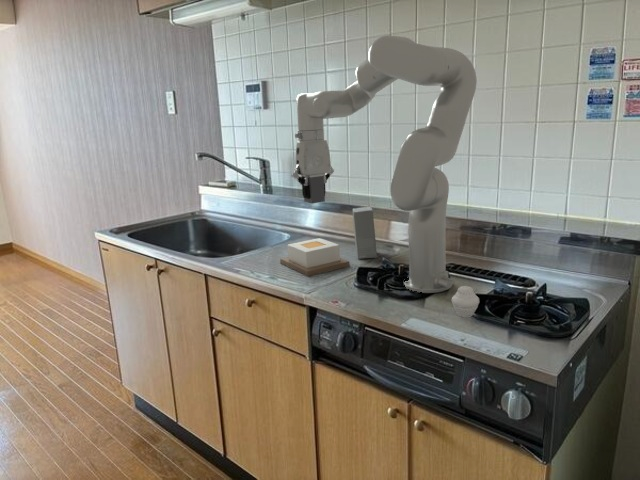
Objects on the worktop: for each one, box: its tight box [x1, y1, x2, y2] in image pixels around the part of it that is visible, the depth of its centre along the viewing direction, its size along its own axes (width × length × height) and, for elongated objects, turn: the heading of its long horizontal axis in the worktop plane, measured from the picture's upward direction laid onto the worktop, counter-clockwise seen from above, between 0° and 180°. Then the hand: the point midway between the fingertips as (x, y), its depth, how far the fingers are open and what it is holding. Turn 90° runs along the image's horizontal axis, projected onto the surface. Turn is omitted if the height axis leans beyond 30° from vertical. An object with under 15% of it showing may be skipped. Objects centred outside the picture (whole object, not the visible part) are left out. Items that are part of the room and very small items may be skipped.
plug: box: [303, 174, 326, 204], centre depth 155 cm, size 5×5×9 cm
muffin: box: [451, 285, 480, 318], centre depth 116 cm, size 6×6×7 cm
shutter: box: [302, 242, 324, 248], centre depth 161 cm, size 6×6×1 cm
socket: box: [279, 237, 351, 277], centre depth 161 cm, size 18×15×6 cm
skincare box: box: [352, 206, 378, 260], centre depth 166 cm, size 8×7×16 cm
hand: (314, 196), depth 155 cm, fingers closed on plug, 4 cm apart
